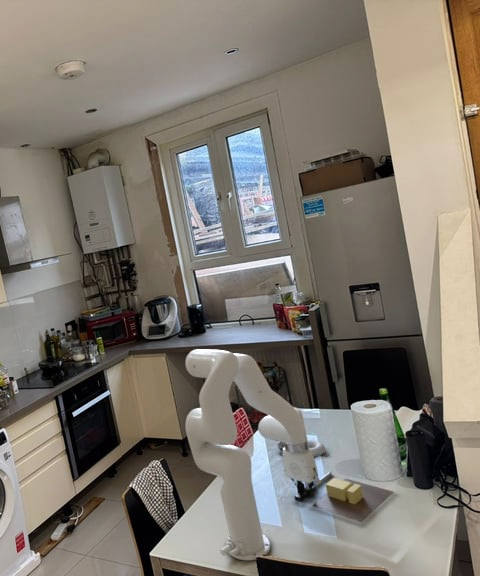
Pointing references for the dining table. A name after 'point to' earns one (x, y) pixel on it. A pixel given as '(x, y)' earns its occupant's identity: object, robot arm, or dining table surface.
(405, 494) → the dining table surface
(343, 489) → the butter block
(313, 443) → the donut
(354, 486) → the butter pat
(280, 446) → the grey chess piece
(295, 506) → the dining table surface
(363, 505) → the butter board
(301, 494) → the knife
